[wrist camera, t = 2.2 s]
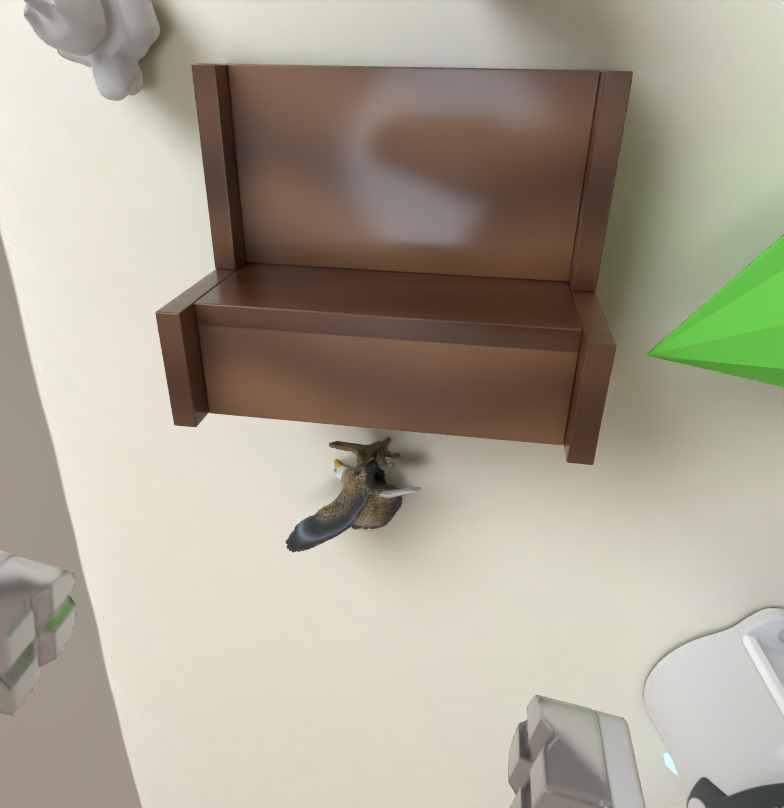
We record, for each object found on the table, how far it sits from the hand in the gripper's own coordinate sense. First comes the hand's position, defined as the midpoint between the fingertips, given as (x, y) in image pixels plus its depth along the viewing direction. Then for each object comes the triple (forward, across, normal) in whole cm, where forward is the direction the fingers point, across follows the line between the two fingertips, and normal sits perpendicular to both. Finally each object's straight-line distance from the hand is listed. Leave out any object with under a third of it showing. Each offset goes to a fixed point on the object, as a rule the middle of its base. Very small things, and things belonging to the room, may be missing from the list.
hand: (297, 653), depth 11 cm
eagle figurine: (+30, +1, +18) cm, 35 cm away
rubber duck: (+30, +19, -7) cm, 36 cm away
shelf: (+30, +2, -1) cm, 30 cm away
